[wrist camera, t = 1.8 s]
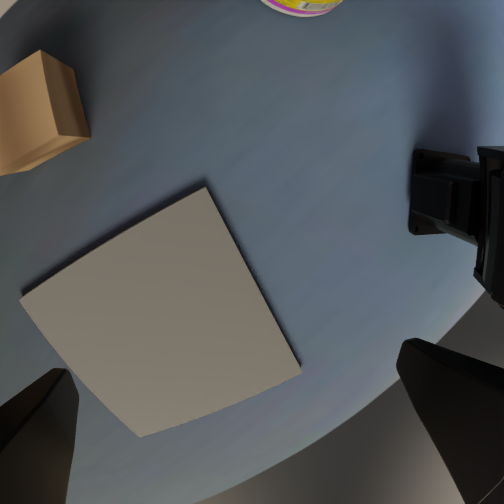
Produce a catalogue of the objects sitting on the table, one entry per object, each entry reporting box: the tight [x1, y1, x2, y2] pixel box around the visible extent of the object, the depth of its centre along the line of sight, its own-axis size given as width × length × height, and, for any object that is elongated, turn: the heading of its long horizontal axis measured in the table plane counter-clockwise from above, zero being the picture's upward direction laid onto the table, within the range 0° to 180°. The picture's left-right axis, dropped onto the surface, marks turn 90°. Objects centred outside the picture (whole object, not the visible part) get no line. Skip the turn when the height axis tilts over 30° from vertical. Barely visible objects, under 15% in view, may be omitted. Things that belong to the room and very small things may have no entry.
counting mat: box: [19, 186, 303, 437], centre depth 21 cm, size 16×16×1 cm
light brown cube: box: [0, 50, 91, 176], centre depth 13 cm, size 5×5×5 cm
